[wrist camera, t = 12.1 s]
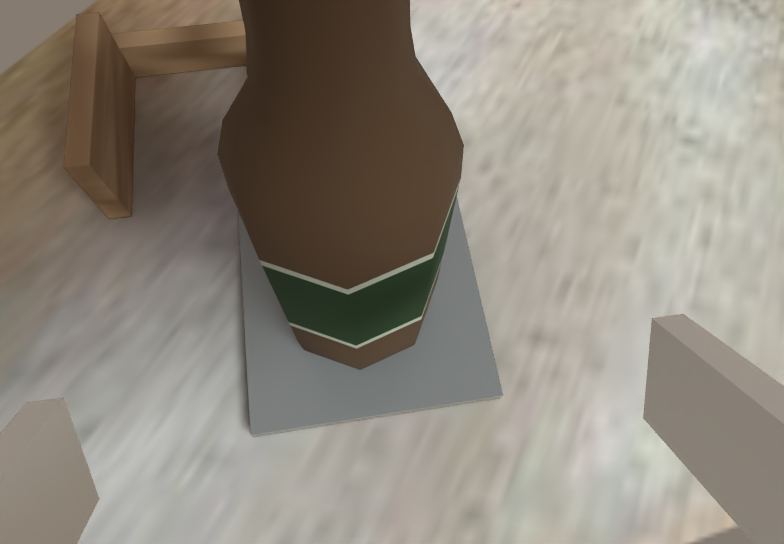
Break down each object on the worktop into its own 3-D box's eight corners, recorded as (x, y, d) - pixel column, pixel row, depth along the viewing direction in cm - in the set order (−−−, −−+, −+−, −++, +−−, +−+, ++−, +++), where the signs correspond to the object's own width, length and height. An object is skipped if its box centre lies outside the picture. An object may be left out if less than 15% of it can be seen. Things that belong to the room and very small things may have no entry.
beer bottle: (428, 228, 31) (540, -497, 9) (440, 370, 28) (661, -207, 6) (283, 234, 31) (28, -500, 9) (279, 378, 28) (-133, -195, 6)
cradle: (312, 43, 37) (302, -24, 32) (331, 190, 33) (323, 136, 28) (116, 64, 36) (77, -2, 32) (109, 218, 32) (63, 167, 27)
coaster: (451, 190, 33) (453, 183, 32) (499, 398, 28) (502, 395, 27) (241, 217, 32) (237, 210, 31) (254, 437, 27) (250, 434, 26)
